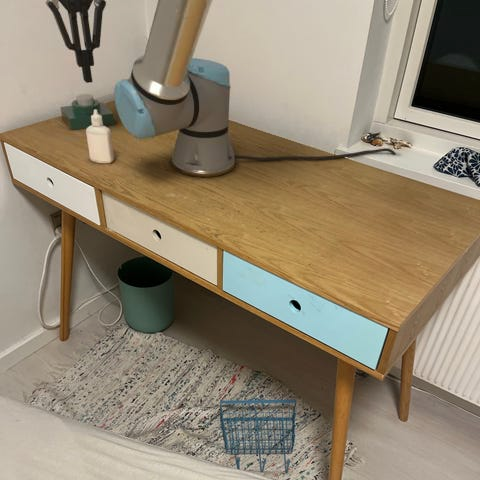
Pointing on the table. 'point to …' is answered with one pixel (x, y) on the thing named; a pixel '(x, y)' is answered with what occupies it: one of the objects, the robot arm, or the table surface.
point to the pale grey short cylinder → (85, 100)
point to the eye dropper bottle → (99, 140)
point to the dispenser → (85, 115)
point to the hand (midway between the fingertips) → (88, 80)
